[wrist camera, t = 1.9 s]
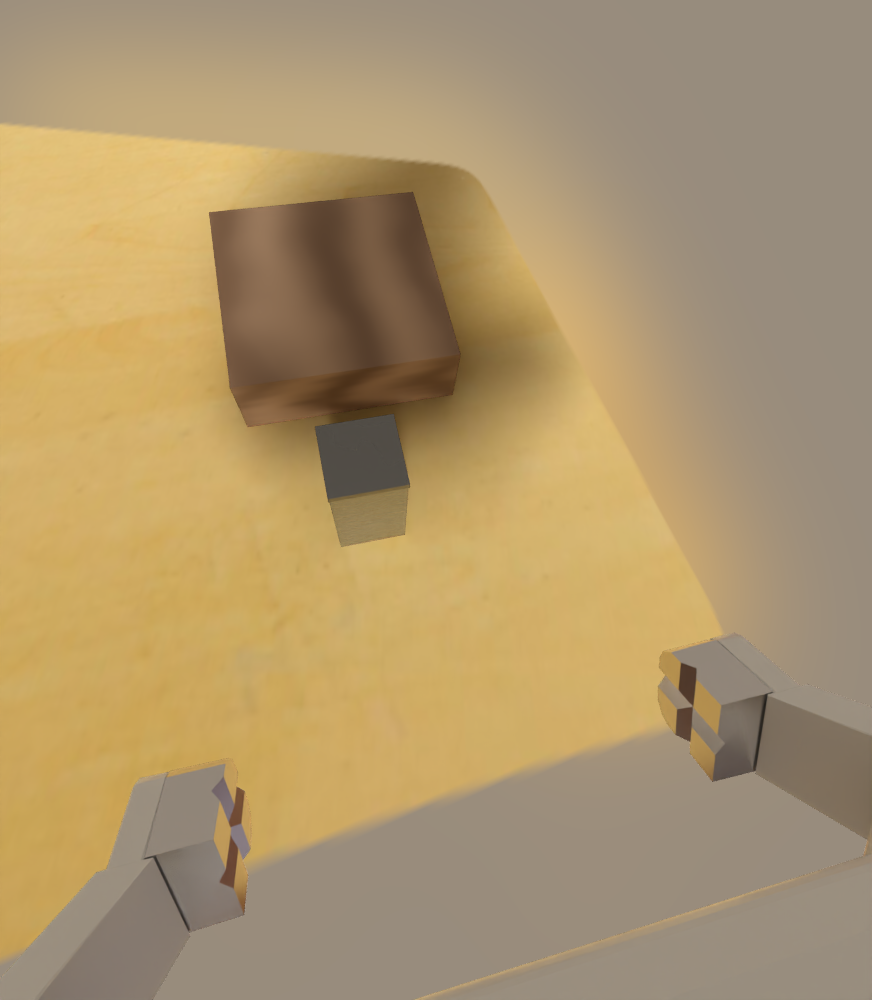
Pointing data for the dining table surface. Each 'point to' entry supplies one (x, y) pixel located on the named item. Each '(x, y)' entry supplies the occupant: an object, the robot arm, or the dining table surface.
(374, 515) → the grey tin
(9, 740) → the dining table surface
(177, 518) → the dining table surface
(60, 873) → the dining table surface
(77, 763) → the dining table surface
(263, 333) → the walnut block
